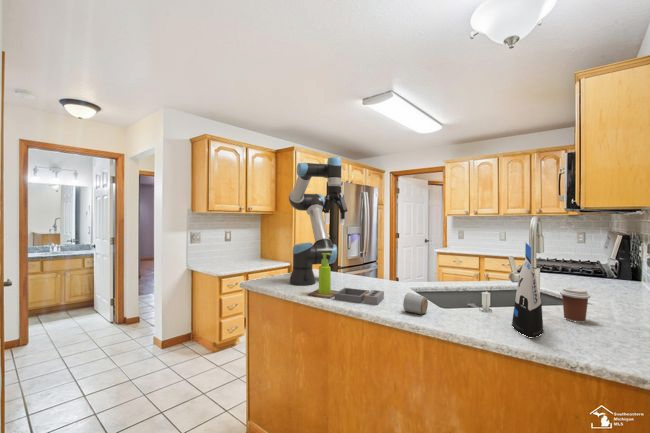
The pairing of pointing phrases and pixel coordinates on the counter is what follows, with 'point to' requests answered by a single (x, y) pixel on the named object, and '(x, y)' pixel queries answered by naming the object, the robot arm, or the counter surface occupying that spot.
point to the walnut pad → (317, 294)
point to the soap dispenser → (324, 275)
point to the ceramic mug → (415, 303)
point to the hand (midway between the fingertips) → (334, 224)
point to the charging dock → (360, 296)
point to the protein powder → (527, 301)
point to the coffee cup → (575, 303)
